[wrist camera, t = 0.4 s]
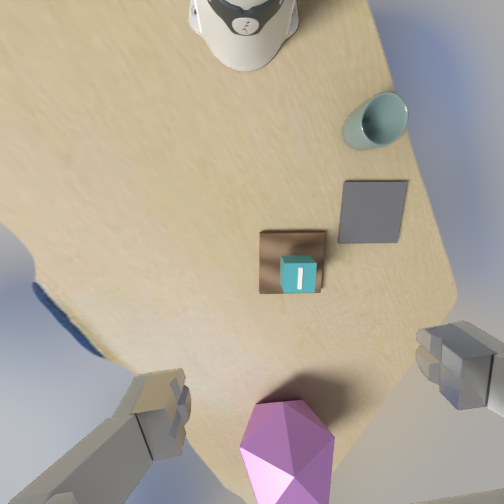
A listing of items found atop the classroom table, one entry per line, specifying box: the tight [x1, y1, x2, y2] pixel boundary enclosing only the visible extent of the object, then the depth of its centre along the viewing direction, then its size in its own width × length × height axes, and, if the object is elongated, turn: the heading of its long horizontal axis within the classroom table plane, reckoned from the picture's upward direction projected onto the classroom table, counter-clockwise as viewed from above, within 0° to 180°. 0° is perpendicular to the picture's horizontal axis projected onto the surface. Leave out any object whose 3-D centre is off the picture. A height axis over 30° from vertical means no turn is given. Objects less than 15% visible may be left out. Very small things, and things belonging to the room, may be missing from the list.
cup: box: [342, 92, 408, 151], centre depth 43 cm, size 8×8×10 cm
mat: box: [338, 182, 407, 244], centre depth 52 cm, size 13×13×1 cm
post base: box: [259, 232, 325, 294], centre depth 51 cm, size 14×14×8 cm
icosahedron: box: [240, 400, 335, 504], centre depth 58 cm, size 22×21×25 cm
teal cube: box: [280, 255, 317, 293], centre depth 48 cm, size 6×6×5 cm
